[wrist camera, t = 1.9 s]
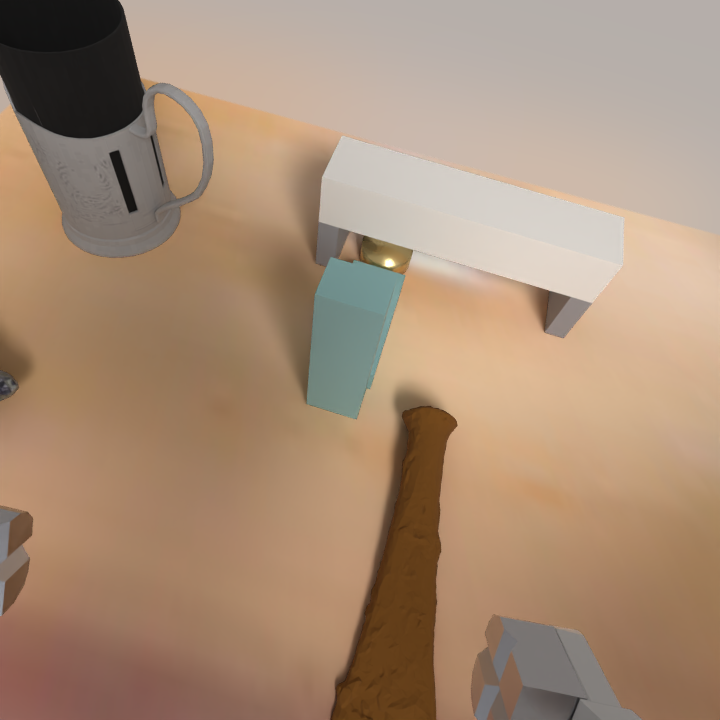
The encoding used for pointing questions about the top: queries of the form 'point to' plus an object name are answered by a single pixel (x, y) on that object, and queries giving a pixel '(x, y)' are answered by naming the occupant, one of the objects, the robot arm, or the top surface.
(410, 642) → the primitive tool
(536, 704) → the robot arm
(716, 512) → the top surface
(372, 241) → the token
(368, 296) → the block
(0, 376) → the mineral rock
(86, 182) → the glass holder
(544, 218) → the white bench
